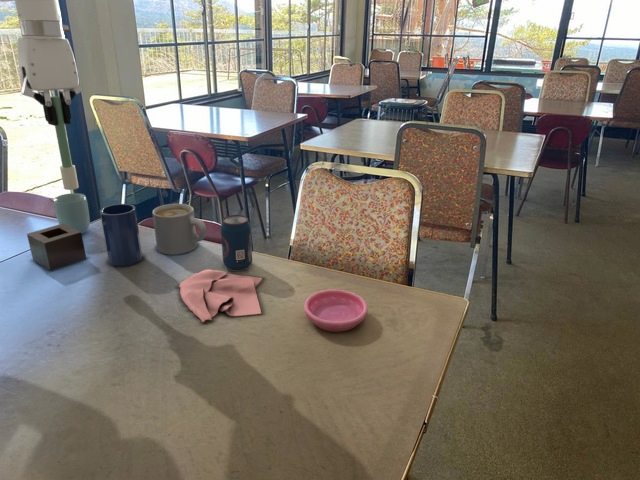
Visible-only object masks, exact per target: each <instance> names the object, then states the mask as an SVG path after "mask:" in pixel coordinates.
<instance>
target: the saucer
mask: <svg viewBox="0 0 640 480" xmlns="http://www.w3.org/2000/svg"><path fill="white" fill-rule="evenodd" d="M303 310H304V311H303V312H304V313H305V316H306V317H307V318H308V320H309V321H310V322H312V323H313V324H314V325H315V326H317V327H318V328H320V329H322V330H324V331H328V332H335V333H336V332H337V333H338V332H339V333H340V332H345V331H346V332H347V331H349V330H352V329H354V328H355V327H356V326H358V325H359V324H361V322H362V321H363V320H365V319H366V317H367V316H368V312H369V307H368V304H367V302H366V300H365V299H364V298H363V297H361V296H360V295H358V294H357V293H354V292H352V291H348V290H343V289H326V290H320V291H318V292H315V293H313V294H311V295H309V297H308V298H306V300H305V301H304V305H303Z"/></svg>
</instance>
